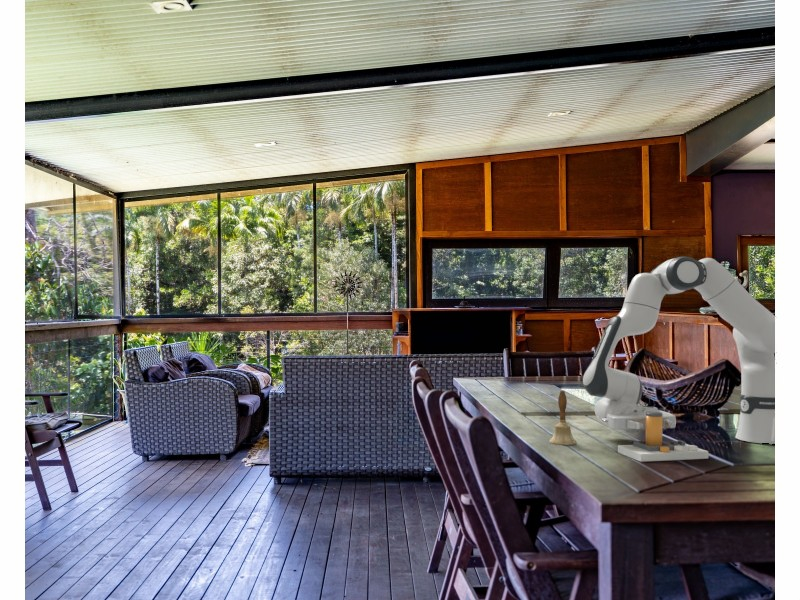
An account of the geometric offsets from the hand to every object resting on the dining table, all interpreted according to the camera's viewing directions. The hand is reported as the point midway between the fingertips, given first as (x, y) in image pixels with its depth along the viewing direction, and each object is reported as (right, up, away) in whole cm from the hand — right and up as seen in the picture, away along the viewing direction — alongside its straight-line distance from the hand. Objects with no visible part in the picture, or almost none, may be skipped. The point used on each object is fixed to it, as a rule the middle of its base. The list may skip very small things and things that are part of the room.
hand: (655, 425), depth 197 cm
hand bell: (-22, -8, +17) cm, 30 cm away
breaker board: (+2, -8, 0) cm, 9 cm away
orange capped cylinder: (0, -6, +1) cm, 6 cm away
